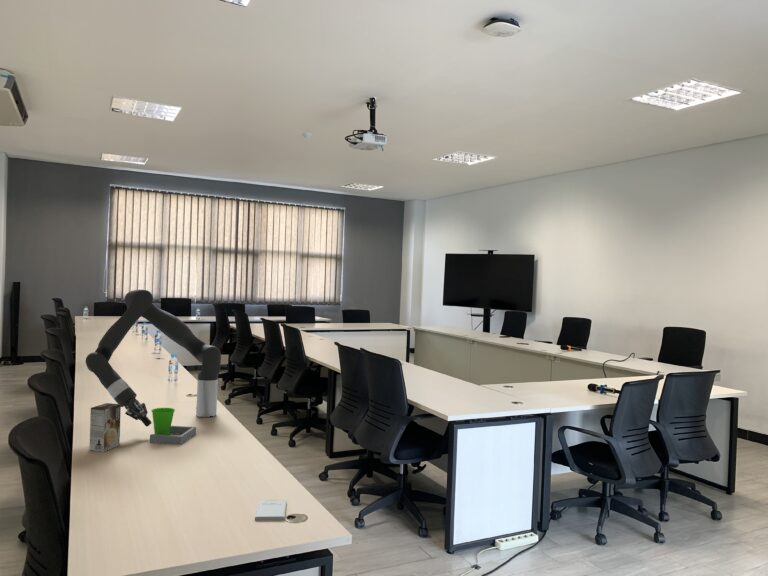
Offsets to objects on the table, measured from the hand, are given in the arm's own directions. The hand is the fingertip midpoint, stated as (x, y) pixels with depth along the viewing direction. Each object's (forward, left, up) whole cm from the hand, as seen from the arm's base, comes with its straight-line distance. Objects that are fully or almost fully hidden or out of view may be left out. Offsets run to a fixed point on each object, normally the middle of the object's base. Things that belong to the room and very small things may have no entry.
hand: (149, 424), depth 235 cm
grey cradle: (0, +9, -5) cm, 10 cm away
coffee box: (+18, -9, -5) cm, 21 cm away
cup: (-1, +5, -5) cm, 7 cm away
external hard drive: (+65, +66, -6) cm, 93 cm away
